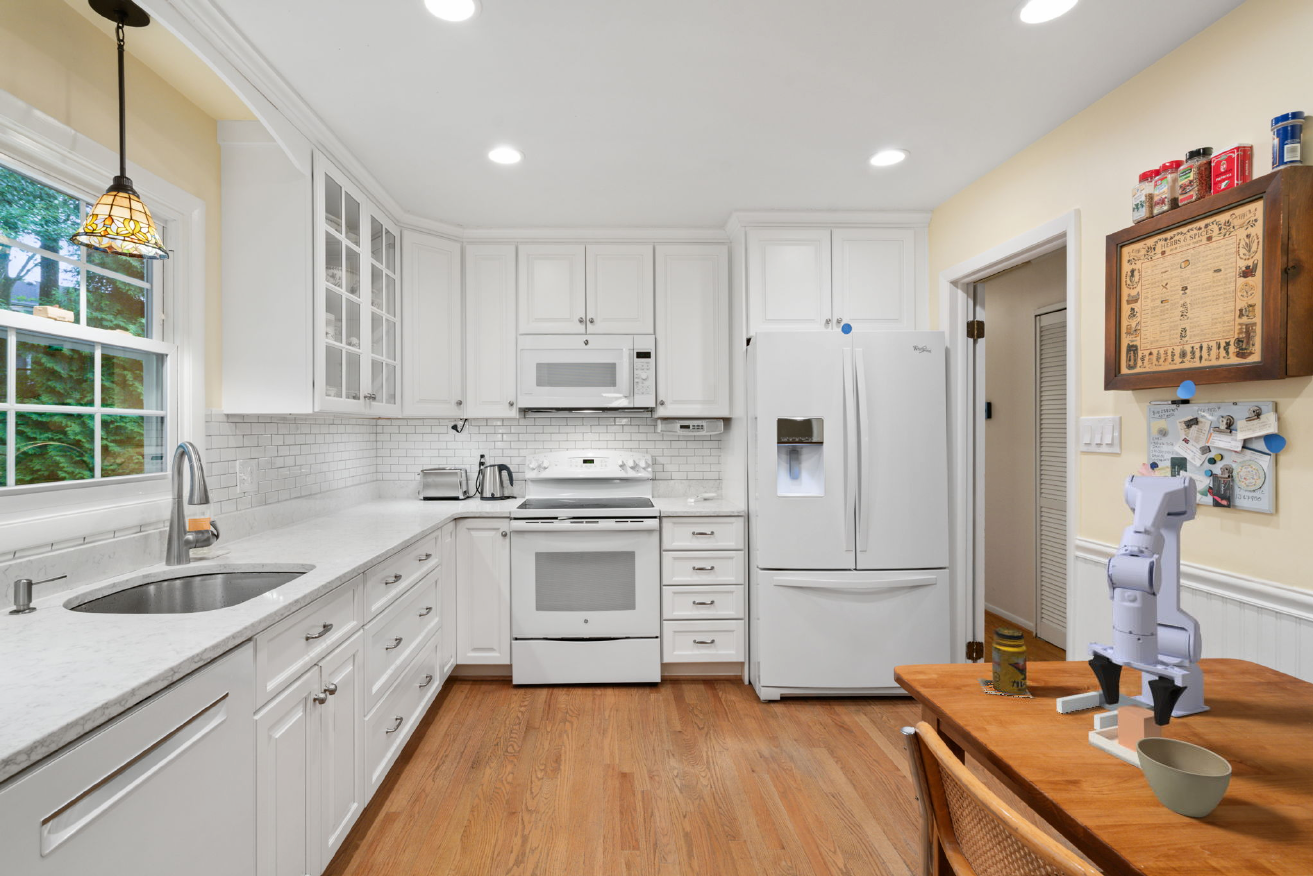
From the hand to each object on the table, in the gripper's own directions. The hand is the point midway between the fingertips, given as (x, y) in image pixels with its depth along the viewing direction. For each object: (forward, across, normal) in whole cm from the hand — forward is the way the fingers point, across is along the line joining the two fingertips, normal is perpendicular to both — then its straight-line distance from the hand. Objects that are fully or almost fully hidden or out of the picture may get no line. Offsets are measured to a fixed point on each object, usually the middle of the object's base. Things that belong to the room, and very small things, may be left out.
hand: (1136, 713), depth 97 cm
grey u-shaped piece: (+6, -11, +13) cm, 18 cm away
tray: (+6, 0, 0) cm, 6 cm away
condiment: (+7, -26, +1) cm, 27 cm away
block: (+6, 0, +1) cm, 6 cm away
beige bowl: (+6, +12, -9) cm, 16 cm away
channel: (+6, -11, +6) cm, 14 cm away
